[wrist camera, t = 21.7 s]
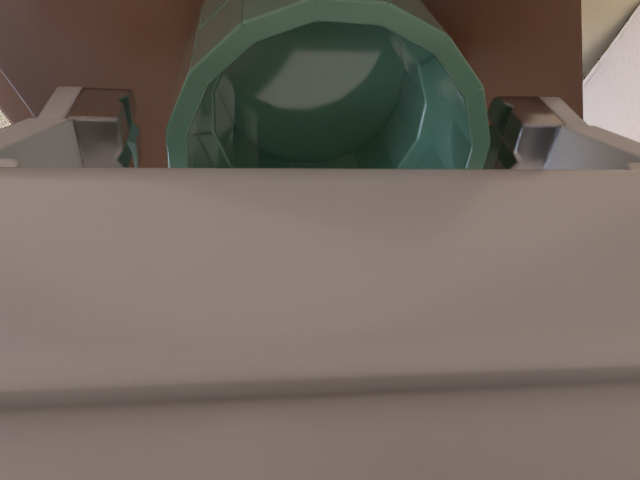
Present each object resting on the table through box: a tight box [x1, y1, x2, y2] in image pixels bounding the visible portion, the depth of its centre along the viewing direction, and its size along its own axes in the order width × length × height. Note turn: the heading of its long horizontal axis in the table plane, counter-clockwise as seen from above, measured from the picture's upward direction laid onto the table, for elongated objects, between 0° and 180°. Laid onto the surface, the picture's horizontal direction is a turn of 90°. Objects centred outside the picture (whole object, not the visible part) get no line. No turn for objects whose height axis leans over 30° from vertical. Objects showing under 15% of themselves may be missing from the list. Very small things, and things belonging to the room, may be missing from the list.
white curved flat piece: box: [583, 5, 640, 143], centre depth 27 cm, size 7×12×2 cm, turn 147°
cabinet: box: [0, 0, 583, 168], centre depth 18 cm, size 15×13×9 cm
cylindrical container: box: [165, 0, 491, 169], centre depth 13 cm, size 6×6×5 cm
